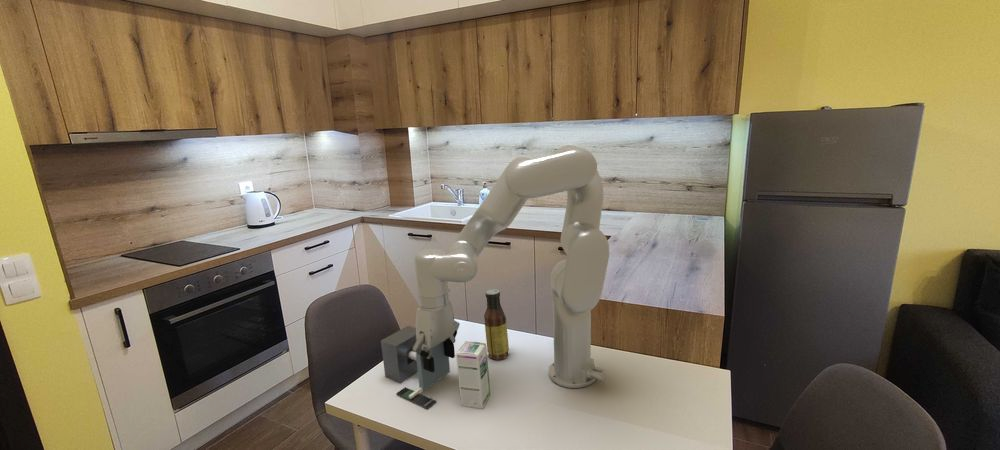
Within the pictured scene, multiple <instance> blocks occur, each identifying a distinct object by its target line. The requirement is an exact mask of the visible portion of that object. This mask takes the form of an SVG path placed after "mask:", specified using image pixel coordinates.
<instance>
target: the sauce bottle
mask: <svg viewBox="0 0 1000 450" xmlns="http://www.w3.org/2000/svg"><path fill="white" fill-rule="evenodd" d="M500 296H501V291H500V290H499V289H488V290H486V291H485V297H486V310H485V312H484V315H483V316H484V317H483V318H484V331H485V338H486V339H485V340H486V341H485V342H486V349H487V356H488V357H489V358H490V359H493V360H495V361H496V360H497V361H498V360H500V361H501V360H503V359H506V358H507V357H508V356H509V348H510V347H509V336H508V325H507V317H506V314H505V313H504V309H503V307H502V304H501V299H500V298H501V297H500Z"/></svg>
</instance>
